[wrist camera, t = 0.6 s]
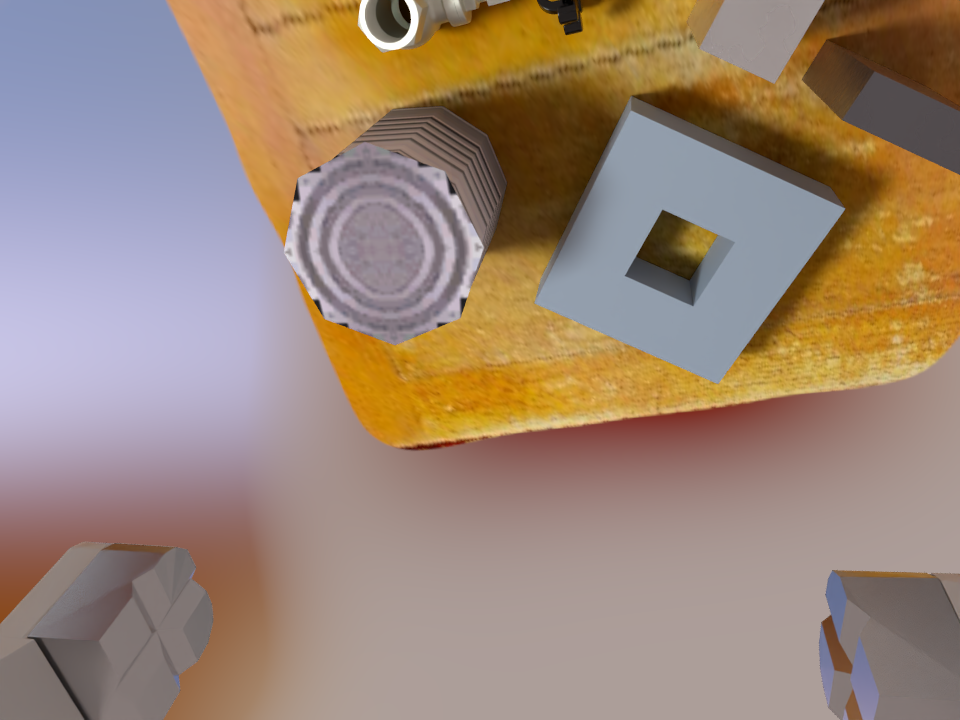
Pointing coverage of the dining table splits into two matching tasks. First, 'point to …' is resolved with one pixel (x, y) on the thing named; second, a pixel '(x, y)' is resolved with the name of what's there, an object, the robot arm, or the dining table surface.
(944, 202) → the dining table surface
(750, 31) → the square bit
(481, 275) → the dining table surface
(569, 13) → the valve
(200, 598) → the robot arm
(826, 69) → the dark grey rectangular slab
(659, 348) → the bore block
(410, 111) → the can
